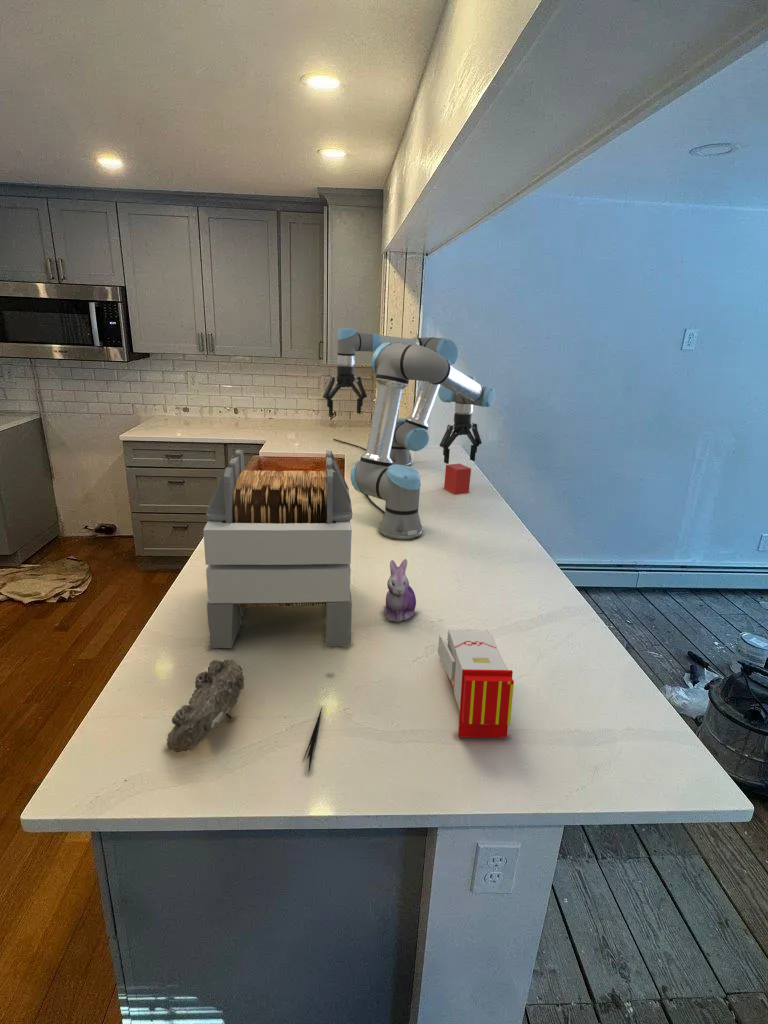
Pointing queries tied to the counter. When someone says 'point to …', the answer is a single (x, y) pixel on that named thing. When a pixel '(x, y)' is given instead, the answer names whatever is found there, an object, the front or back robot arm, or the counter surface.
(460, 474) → the brick
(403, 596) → the figurine
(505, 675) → the toy
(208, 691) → the fossil
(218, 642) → the record crate
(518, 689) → the counter surface
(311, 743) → the feather
